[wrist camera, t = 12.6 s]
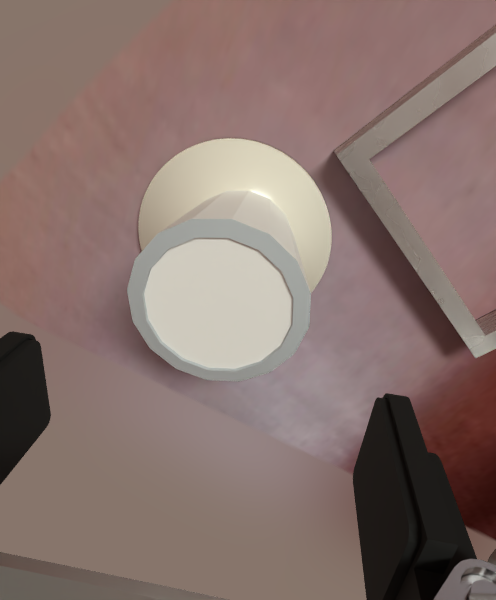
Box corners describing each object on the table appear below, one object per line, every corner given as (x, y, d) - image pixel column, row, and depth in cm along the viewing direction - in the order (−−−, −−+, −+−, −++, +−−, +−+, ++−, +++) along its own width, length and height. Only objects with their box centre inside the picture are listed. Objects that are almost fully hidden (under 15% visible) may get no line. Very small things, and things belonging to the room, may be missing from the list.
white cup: (259, 324, 23) (246, 410, 17) (152, 260, 22) (97, 328, 16) (334, 227, 20) (352, 289, 14) (215, 147, 19) (178, 176, 13)
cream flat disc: (369, 257, 21) (370, 260, 21) (224, 350, 25) (223, 353, 24) (247, 88, 18) (246, 88, 18) (102, 222, 22) (99, 224, 21)
